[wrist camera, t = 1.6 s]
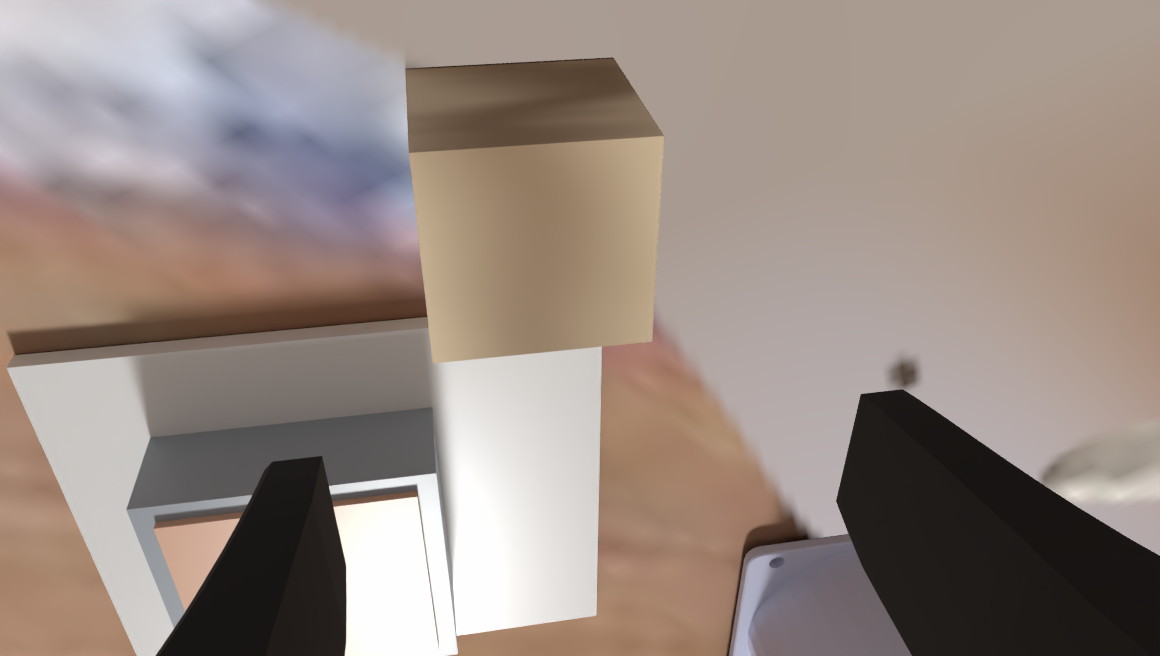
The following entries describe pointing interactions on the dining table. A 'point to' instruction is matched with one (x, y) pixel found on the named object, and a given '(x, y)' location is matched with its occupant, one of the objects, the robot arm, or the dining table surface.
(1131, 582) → the robot arm
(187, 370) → the base
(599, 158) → the maple block
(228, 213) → the dining table surface
